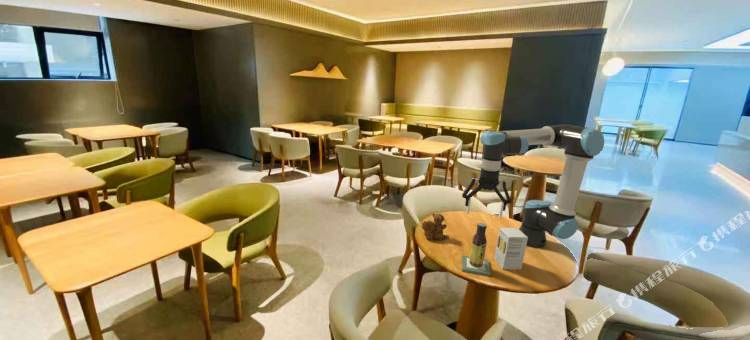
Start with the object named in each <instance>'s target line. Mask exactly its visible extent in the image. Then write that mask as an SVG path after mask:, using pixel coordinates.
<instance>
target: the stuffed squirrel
mask: <svg viewBox="0 0 750 340" xmlns="http://www.w3.org/2000/svg"><path fill="white" fill-rule="evenodd" d="M431 216H432V217H433V221H432V220H424V221H423V222H422V223H421V229H422V230H423V234H424V237H425V238H426V239H427V240H429V241H430V240H433V239H434V240H437V241H438V240H439V241H444V240H448V239H449V236H448V235H446V234H444V230H445V229H446V228H447V224H446V223H444V224H443V222H447V221H446V218H445V217H444V215H443V214H441V213H434V212H433V213H432V214H431Z"/></svg>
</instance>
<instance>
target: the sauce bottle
mask: <svg viewBox="0 0 750 340" xmlns="http://www.w3.org/2000/svg"><path fill="white" fill-rule="evenodd" d="M476 225H477V226H476V231H475V234H474V235H473V237H472V241H471V246H470V248H471V249H470V253H469V256H470V261H469V262H470V264H471V265H472V266H475V267H481V266H482V265H483V262H484V259H485V255H486V250H487V249H486V248H487V245H488V244H487V242H488V241H487V235H486V230H487V224H486V223H484V222H478V223H477V224H476Z"/></svg>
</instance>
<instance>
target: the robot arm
mask: <svg viewBox="0 0 750 340" xmlns="http://www.w3.org/2000/svg"><path fill="white" fill-rule="evenodd" d="M480 143H481V145H483V150H482V151H483V153H482V160H481V165H480V166H481V168H480V173H479V174H480V175H479V178H475V177H474V176H472V178H471V180H470V181H471V182H470V183H469V184H468V185H467V187H466V188H465V190H464V191H463V192H462V194H461V198H463V199H465V203H464V204H465V207H467V209H466V214H467V215H469V214H470V207H471V200H472V199H471V198H473V196H475V195H477V193H478V192H479V191H481V190H484V191H494V193H496V194H497V196H498V198H499V199H500V200H501V201H500V206H499V213H498V217H499V219H502V217H503V212H504V211H506V209H507V205H508V204H512V199H511V197H510V194H509V192H508V190H507V189H508V188H507V183H506V180H503V179H502V180H501V181H500V180H499V179H500V170H501V166H502V160H503V159H502V158H503V156H505V155H508V156H509V155H522V154H525V153H527V151H528V149H529V146H533V145H542V146H547V147H549V146H552V147H555V148H561V149H563V150H564V156H565V157H566V159H565V163H564V167H563V170H562V173H561V177H560V180H559V183H558V187H557V190H556V193H555V198H554V201H553V204H551V203H550V202H549V201H546V200H545V201H544V200H540V199H530V200H527V201H526V202H525V206H524V209H523V214H522V221H521V225H520V227H518V229H519V230H520V231H521V232H522V233H524V234H525V235H526V236H527V237H528V240H527V245H526V247H531V248H543V247H546V245H547V242H548V241H547V234H546V232H547V233H549V234H550V235H552V236H553V237H555V238H557V239H560V240H568V239H569V238H571V237H572V236H573V235H575V234H576V232H577V231H578V229H579V226H580V223H579V221H578V220H577V219H576V216H577V213H576V211H575V210H574V209H575V205H576V202H577V199H578V196H579V192H580V189H581V185H582V182H583V179H584V176H585V173H586V169H587V167H588V166H587V165H588V163H589V162H590V161H592V160H594V157H595V156H598V155H600V153H601V152H602V151H603V149H604V147H605V137H604V134H603V132H601V131H600V130H599V129H596V128H592V127H587V126H586V127H585V126H579V125H573V124H557V125H546V126H545V125H544V126H543V127H541V128H533V129H531V128H530V129H516V130H514V129H513V130H502V131H501V130H500V131H494V130H485V131H483V132H482V133H481V135H480ZM477 183H478V185H477V186H476V187H475V188H474V189H473V190H472V188H473V186H474V185H475V184H477ZM499 185H500V187H502V190H503V192H504V194H505V197H506V199H505V197H504V196H503V194H502V193H501V191H499V189H498V188H497V187H498V186H499ZM471 190H472V191H471Z"/></svg>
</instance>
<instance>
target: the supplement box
mask: <svg viewBox="0 0 750 340" xmlns="http://www.w3.org/2000/svg"><path fill="white" fill-rule="evenodd" d="M498 231H499V232H498V236H497V243H496V248H495V253H494V260H495V262H497V264H498V265H499V267H500V268H501V269H502V270H522V267H523V263H524V257H525V252H526V249H527V240H528V237H527V236H526V235H525V234H524V233H522V232H521V231H520V230H519V227H499V230H498Z"/></svg>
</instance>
